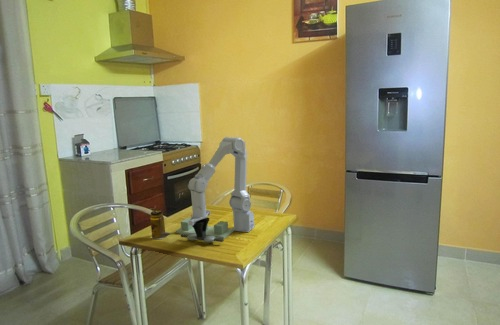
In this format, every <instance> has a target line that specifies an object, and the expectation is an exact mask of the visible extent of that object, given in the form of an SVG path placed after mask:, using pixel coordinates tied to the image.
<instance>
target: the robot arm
mask: <svg viewBox="0 0 500 325" xmlns="http://www.w3.org/2000/svg"><path fill="white" fill-rule="evenodd" d="M221 140H222V141H220V142H219V146H218V148H217V149H216V151H215V152H214V154H213V156H212V157H211V159H210V160H209V162H208V163H204V164H201V167H200V170H199V171H198V172H197V173H196V174H195V175H194V177H193V178H191V179H190V180H189V182H188V184H187V188H188V190H189V191H190V195H191V196H190V197H191V208H192V214H191V215H190V218H191V219H190V220H189V221H188V222H189V225H192V226H193V228H194V230H195V232H196V235H197V237H200V238H201V237H202V231H206V228H207V224H209V223H210V222H209V221H210V218H209V217H208V216H211V210H207V206H206V194H205V193H206V192H205V191H206V190H207V189H208V183H209V182H210V180H211V178H212V177H213V175H214V174H215V173H216V167H217V166H218V165H219V163H221V161H222V160H223V158H224V157H225V156H226V155H230V154H231V155H232V156H233V157H234V187H233V188H234V189H233V191H232V192H231V193H230V198H229V202H228V204H229V207H230V208H231V209H232V219H233V227H232V228H231V229H234V232H245V233H249V232H250V231H252V230H253V229H254V228H255V227H256V225H255V216H254V212H253V211H251V210H250V209H251V207H252V201H251V199H250V198H251V195H250V193H248V191H247V173H248V172H247V171H248V170H247V164H248V160H247V159H248V151H247V150H246V141H244V140H243V138H242V137H232V136H231V137H230V136H225V137H223V138H222V139H221Z"/></svg>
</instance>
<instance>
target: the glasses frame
mask: <svg viewBox="0 0 500 325" xmlns="http://www.w3.org/2000/svg"><path fill="white" fill-rule="evenodd" d="M180 238H186V239H187V241H196V240H197V241H204V243H213V242H219V243H223V242H224V239H221V238H216V237H215V236H206V231H202V237H201V238H200V237H197V235H196V234H190V235H188V234H180Z"/></svg>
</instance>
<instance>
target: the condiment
mask: <svg viewBox="0 0 500 325" xmlns="http://www.w3.org/2000/svg"><path fill="white" fill-rule="evenodd" d="M149 221H150V229H151V236H152V238H154V239H153V240H163V239H165V238H166V237H168V236H169V235H171V234H172V232H166V227H165V226H166V224H165V216H164V214H163V210H161V209H160V210H159V209H158V210H152V211H151V212H150V219H149Z"/></svg>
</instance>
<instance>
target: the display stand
mask: <svg viewBox="0 0 500 325" xmlns="http://www.w3.org/2000/svg"><path fill="white" fill-rule="evenodd" d="M191 218H192V217H187V218H185V219H183V220H181V221H180V227H179V228H177V230H175V231H174V232H175V234H180V235H181V234H186V235H190V234H196V232H195V230H194V228H193V226H192V225H189V222H188V221H189V220H190V219H191ZM208 224H209V223H208ZM208 224H207V228H206V236H215V237H216V238H219V239H223V240H225V239H226V238H227V237H229V236H230V235H231V234H233V233H234V232H235V231H234V229H232V228H229V221H224V220H223V221H222V220H220V221H218V222H217V223H215V224H214V225H213V226H210V225H209V226H208Z"/></svg>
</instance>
